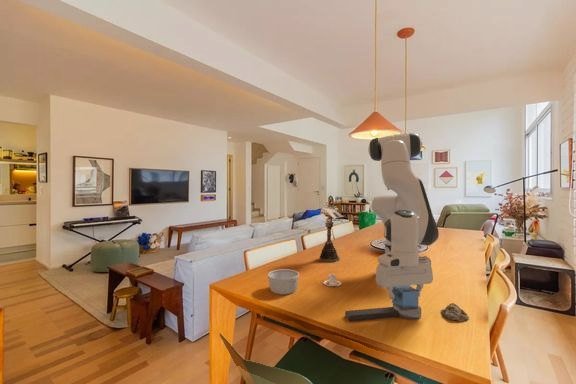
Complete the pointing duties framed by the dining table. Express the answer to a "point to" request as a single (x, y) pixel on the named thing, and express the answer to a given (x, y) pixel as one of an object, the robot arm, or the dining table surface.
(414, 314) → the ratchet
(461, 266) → the dining table surface
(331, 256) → the bird statue
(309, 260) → the dining table surface
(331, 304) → the dining table surface
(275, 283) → the ramekin
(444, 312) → the mineral rock
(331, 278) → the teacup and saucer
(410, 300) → the slate grey cube
